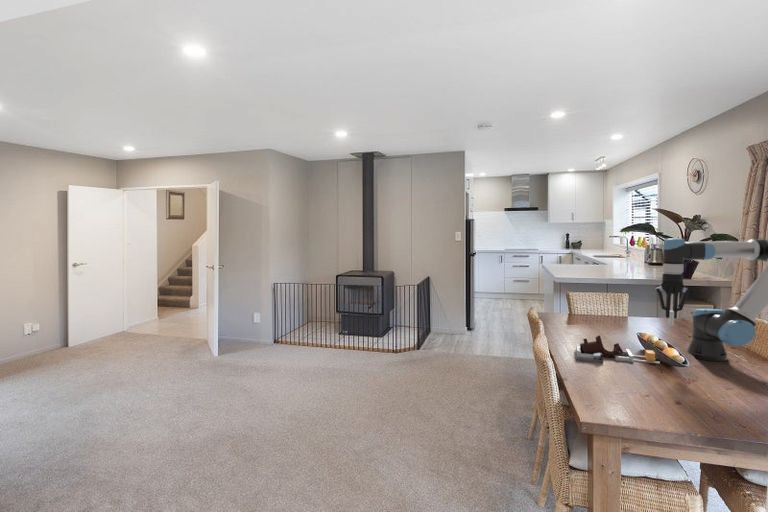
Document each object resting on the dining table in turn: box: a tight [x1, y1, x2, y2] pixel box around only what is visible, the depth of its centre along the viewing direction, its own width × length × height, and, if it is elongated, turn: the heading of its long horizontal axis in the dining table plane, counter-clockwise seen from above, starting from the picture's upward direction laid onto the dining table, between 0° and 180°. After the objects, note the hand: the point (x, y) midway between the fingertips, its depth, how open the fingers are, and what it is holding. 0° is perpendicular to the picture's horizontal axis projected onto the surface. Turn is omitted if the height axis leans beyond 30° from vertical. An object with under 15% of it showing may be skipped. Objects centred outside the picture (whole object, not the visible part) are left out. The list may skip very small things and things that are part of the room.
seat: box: [574, 344, 661, 365], centre depth 193 cm, size 34×13×4 cm, turn 68°
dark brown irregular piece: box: [579, 335, 624, 358], centre depth 195 cm, size 6×17×10 cm, turn 79°
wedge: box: [644, 349, 656, 361], centre depth 187 cm, size 3×5×4 cm, turn 158°
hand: (670, 325), depth 183 cm, fingers closed
